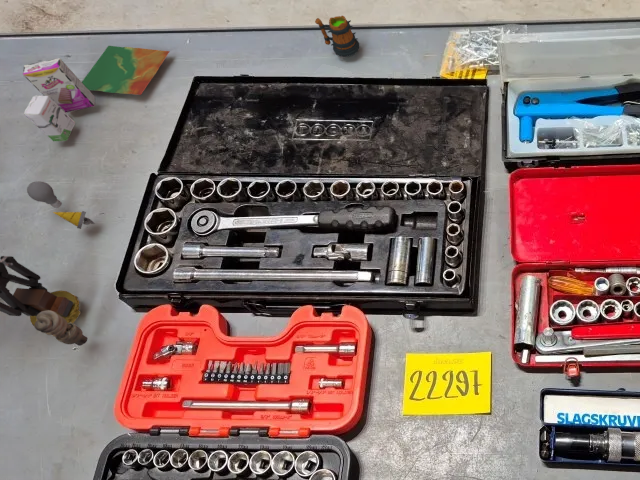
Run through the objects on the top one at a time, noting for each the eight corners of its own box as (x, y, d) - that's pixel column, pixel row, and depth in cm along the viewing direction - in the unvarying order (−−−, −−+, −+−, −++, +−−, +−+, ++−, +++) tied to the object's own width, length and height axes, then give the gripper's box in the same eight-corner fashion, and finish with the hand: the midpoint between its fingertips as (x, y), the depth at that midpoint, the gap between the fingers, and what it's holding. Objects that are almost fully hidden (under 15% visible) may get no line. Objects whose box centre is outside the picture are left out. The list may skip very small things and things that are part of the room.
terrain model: (170, 52, 196) (169, 51, 195) (141, 96, 186) (140, 94, 186) (108, 45, 198) (107, 44, 198) (76, 88, 188) (75, 87, 188)
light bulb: (44, 209, 165) (16, 189, 156) (59, 195, 168) (32, 174, 159) (58, 216, 164) (31, 195, 155) (73, 201, 166) (47, 181, 157)
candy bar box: (62, 114, 183) (21, 75, 168) (62, 104, 185) (22, 64, 170) (95, 107, 184) (58, 67, 170) (96, 97, 186) (59, 56, 172)
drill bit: (91, 234, 161) (49, 223, 155) (93, 227, 165) (52, 216, 159) (96, 219, 160) (54, 207, 154) (98, 212, 164) (56, 200, 157)
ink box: (67, 141, 178) (38, 114, 167) (52, 141, 178) (22, 114, 167) (76, 122, 181) (48, 94, 171) (61, 122, 181) (32, 94, 171)
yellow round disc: (34, 305, 151) (27, 302, 149) (77, 287, 153) (72, 283, 151) (39, 339, 146) (32, 336, 144) (84, 320, 148) (78, 317, 146)
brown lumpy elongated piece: (81, 331, 147) (36, 307, 133) (99, 332, 146) (56, 309, 133) (71, 350, 144) (24, 327, 131) (90, 351, 144) (45, 329, 130)
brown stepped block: (25, 314, 146) (1, 302, 140) (32, 300, 148) (9, 287, 141) (66, 317, 146) (44, 305, 139) (74, 302, 148) (52, 290, 141)
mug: (362, 38, 197) (353, 8, 187) (358, 57, 193) (348, 28, 182) (327, 38, 197) (316, 9, 187) (322, 57, 193) (311, 28, 183)
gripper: (-35, 299, 122) (47, 338, 143) (2, 234, 129) (75, 281, 150) (-66, 297, 122) (20, 336, 143) (-27, 233, 130) (50, 279, 151)
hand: (48, 308), depth 147 cm, fingers closed on brown stepped block, 4 cm apart
